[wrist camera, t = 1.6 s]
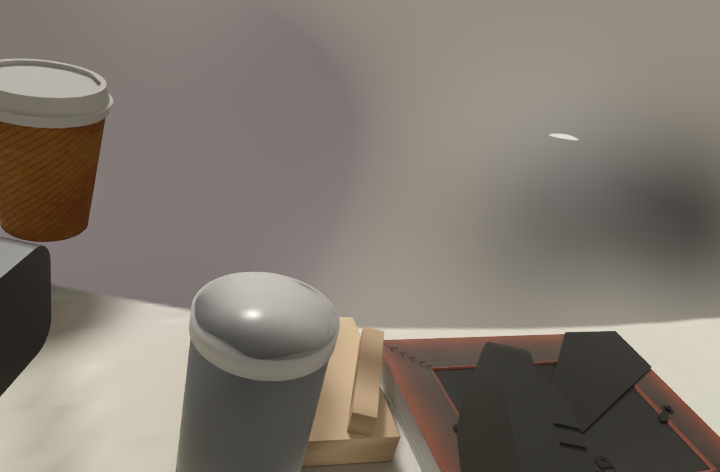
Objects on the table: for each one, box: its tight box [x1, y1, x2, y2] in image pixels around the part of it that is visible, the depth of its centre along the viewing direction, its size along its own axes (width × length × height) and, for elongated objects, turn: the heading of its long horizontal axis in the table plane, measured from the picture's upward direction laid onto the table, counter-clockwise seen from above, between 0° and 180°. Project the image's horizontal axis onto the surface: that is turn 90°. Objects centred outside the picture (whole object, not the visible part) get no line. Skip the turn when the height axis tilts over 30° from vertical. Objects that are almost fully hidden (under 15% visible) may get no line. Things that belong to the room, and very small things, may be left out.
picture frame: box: [380, 331, 720, 472], centre depth 41 cm, size 16×2×22 cm
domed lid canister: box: [176, 272, 340, 472], centre depth 26 cm, size 5×5×14 cm
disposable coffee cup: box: [0, 59, 113, 242], centre depth 47 cm, size 10×10×12 cm
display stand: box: [302, 317, 400, 467], centre depth 38 cm, size 12×11×4 cm
